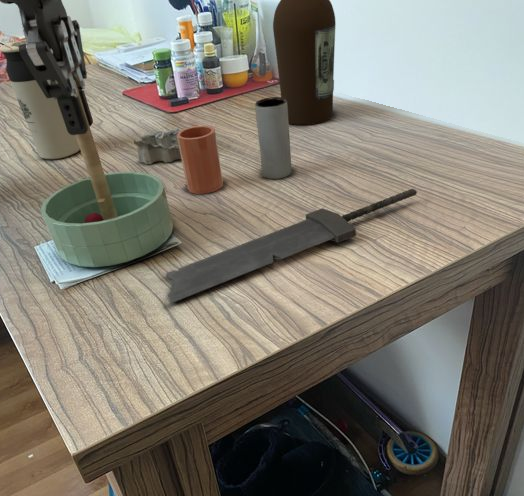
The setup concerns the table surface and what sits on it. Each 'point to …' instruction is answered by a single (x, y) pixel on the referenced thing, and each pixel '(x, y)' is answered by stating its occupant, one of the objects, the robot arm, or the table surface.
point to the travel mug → (38, 108)
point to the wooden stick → (96, 171)
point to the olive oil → (305, 58)
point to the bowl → (113, 230)
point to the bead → (93, 218)
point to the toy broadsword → (269, 249)
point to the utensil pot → (200, 159)
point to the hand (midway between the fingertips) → (81, 129)
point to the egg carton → (159, 146)
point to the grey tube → (274, 137)
